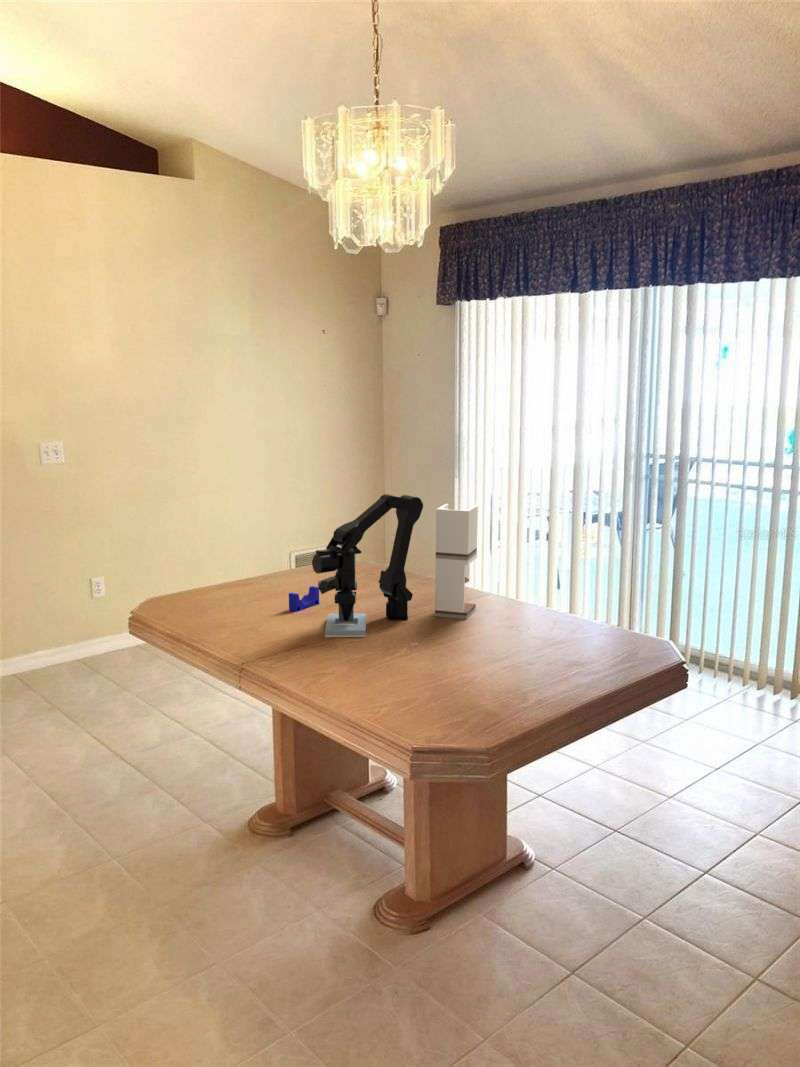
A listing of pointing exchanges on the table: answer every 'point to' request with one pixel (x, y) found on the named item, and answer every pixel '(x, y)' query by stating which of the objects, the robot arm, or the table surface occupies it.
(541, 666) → the table surface
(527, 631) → the table surface
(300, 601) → the blue notched cradle
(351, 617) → the plug
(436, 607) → the white dispenser
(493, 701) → the table surface
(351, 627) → the socket
